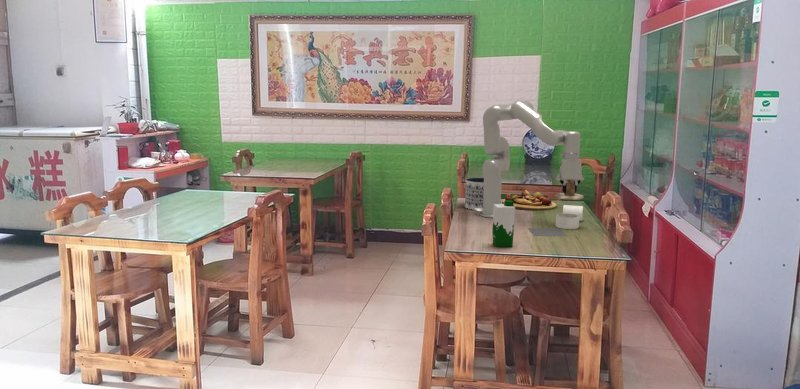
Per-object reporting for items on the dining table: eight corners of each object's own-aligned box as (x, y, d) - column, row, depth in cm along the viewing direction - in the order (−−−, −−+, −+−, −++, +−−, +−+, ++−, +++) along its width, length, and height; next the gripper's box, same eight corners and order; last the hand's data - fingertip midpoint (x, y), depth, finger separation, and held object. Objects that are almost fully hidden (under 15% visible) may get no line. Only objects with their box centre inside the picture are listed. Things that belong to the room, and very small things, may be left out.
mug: (582, 222, 329) (582, 207, 327) (562, 221, 332) (563, 206, 330) (582, 218, 340) (583, 203, 339) (563, 216, 343) (564, 202, 342)
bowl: (558, 229, 312) (559, 217, 311) (553, 224, 322) (554, 213, 321) (581, 229, 312) (581, 217, 311) (574, 224, 323) (575, 213, 322)
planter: (497, 211, 356) (499, 182, 353) (465, 210, 356) (466, 181, 354) (494, 205, 373) (495, 177, 371) (464, 204, 374) (464, 177, 372)
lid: (558, 199, 307) (559, 185, 306) (551, 194, 321) (552, 181, 320) (587, 199, 307) (588, 185, 306) (579, 195, 321) (579, 181, 320)
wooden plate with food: (504, 210, 360) (505, 196, 358) (499, 200, 391) (500, 186, 390) (561, 213, 358) (562, 198, 357) (551, 202, 390) (552, 189, 388)
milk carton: (515, 247, 275) (517, 202, 272) (494, 247, 275) (496, 202, 271) (509, 242, 284) (511, 199, 281) (490, 242, 283) (491, 199, 280)
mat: (534, 236, 296) (534, 235, 296) (527, 229, 312) (527, 228, 312) (568, 236, 296) (568, 236, 296) (559, 229, 312) (559, 228, 312)
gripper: (556, 157, 307) (554, 194, 310) (590, 157, 307) (588, 194, 310) (552, 155, 315) (550, 191, 318) (585, 155, 315) (583, 192, 318)
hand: (569, 192), depth 314 cm, fingers closed on lid, 4 cm apart
